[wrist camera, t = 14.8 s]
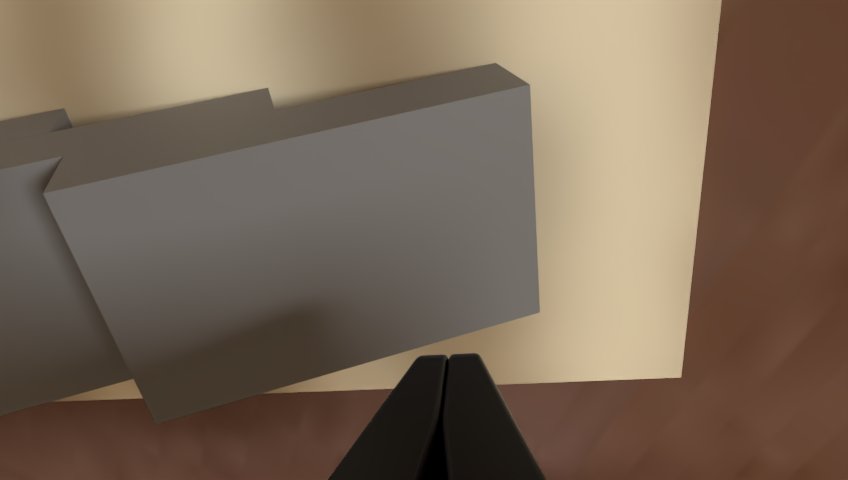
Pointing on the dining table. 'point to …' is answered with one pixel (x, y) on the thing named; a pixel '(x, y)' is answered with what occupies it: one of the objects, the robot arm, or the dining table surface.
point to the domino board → (426, 57)
